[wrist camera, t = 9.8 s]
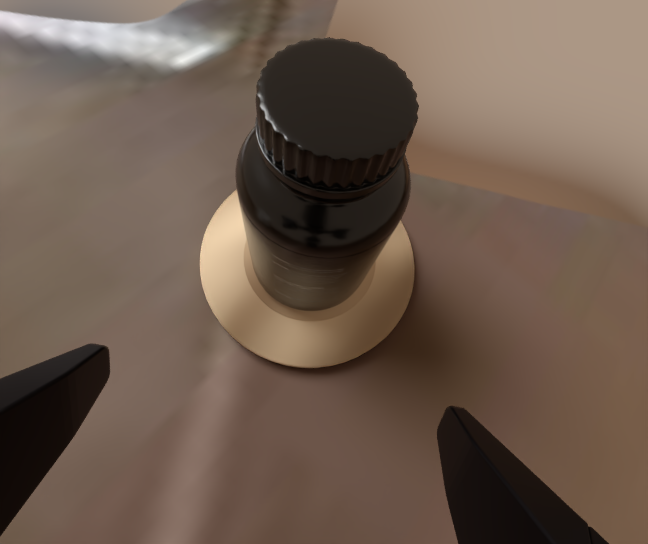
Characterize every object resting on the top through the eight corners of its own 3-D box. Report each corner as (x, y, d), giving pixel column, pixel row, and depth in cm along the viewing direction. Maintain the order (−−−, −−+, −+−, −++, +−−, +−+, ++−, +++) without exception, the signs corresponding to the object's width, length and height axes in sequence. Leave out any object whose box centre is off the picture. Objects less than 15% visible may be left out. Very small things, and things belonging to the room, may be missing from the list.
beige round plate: (443, 242, 24) (449, 236, 23) (340, 416, 19) (343, 416, 18) (286, 143, 25) (286, 134, 24) (155, 283, 20) (149, 278, 20)
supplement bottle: (386, 256, 22) (499, 101, 11) (314, 338, 19) (360, 251, 8) (304, 189, 23) (327, -16, 12) (226, 259, 20) (162, 87, 9)
